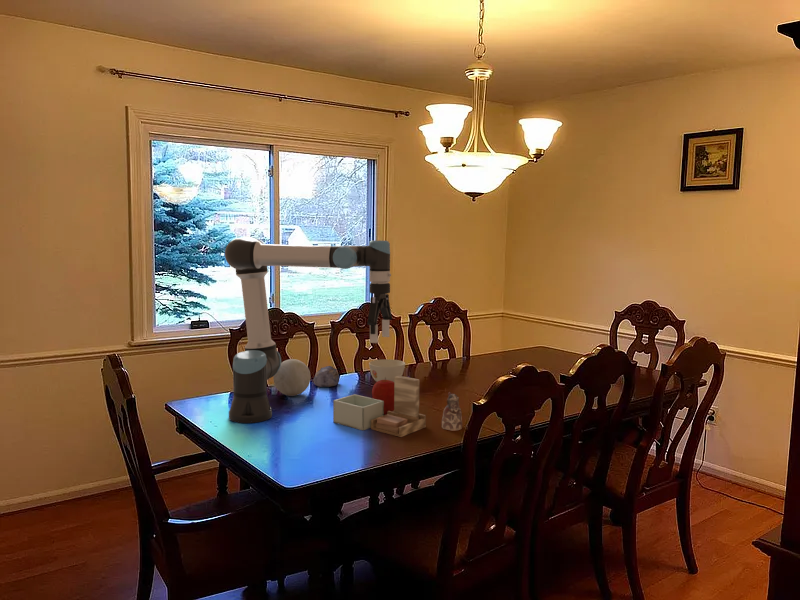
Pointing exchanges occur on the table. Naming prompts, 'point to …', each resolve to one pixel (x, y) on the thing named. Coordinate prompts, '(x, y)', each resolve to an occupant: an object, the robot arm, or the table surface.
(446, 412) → the figurine
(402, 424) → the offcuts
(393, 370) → the bowl
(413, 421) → the oak rack
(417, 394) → the birch sheet
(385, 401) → the red ovoid
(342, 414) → the box
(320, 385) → the rock
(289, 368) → the decorative sphere
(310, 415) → the table surface
